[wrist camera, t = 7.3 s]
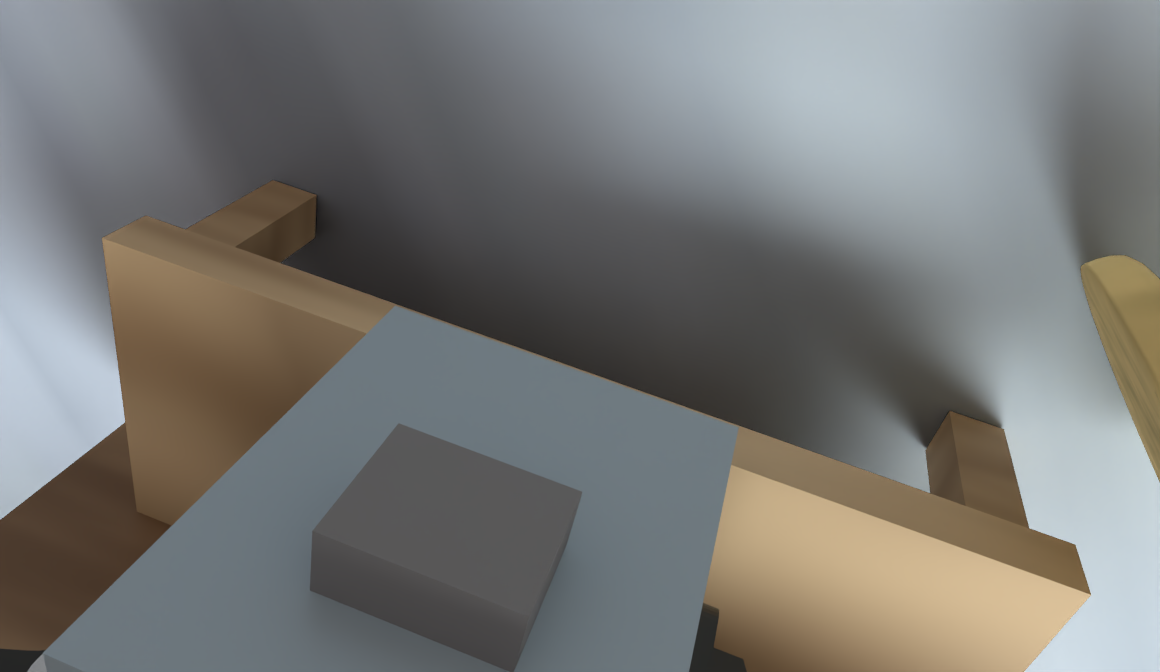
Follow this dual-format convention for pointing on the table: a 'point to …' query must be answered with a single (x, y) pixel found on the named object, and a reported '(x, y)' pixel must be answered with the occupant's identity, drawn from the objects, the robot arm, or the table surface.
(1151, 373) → the wall sconce
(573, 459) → the grey rectangular box
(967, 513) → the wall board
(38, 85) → the table surface
